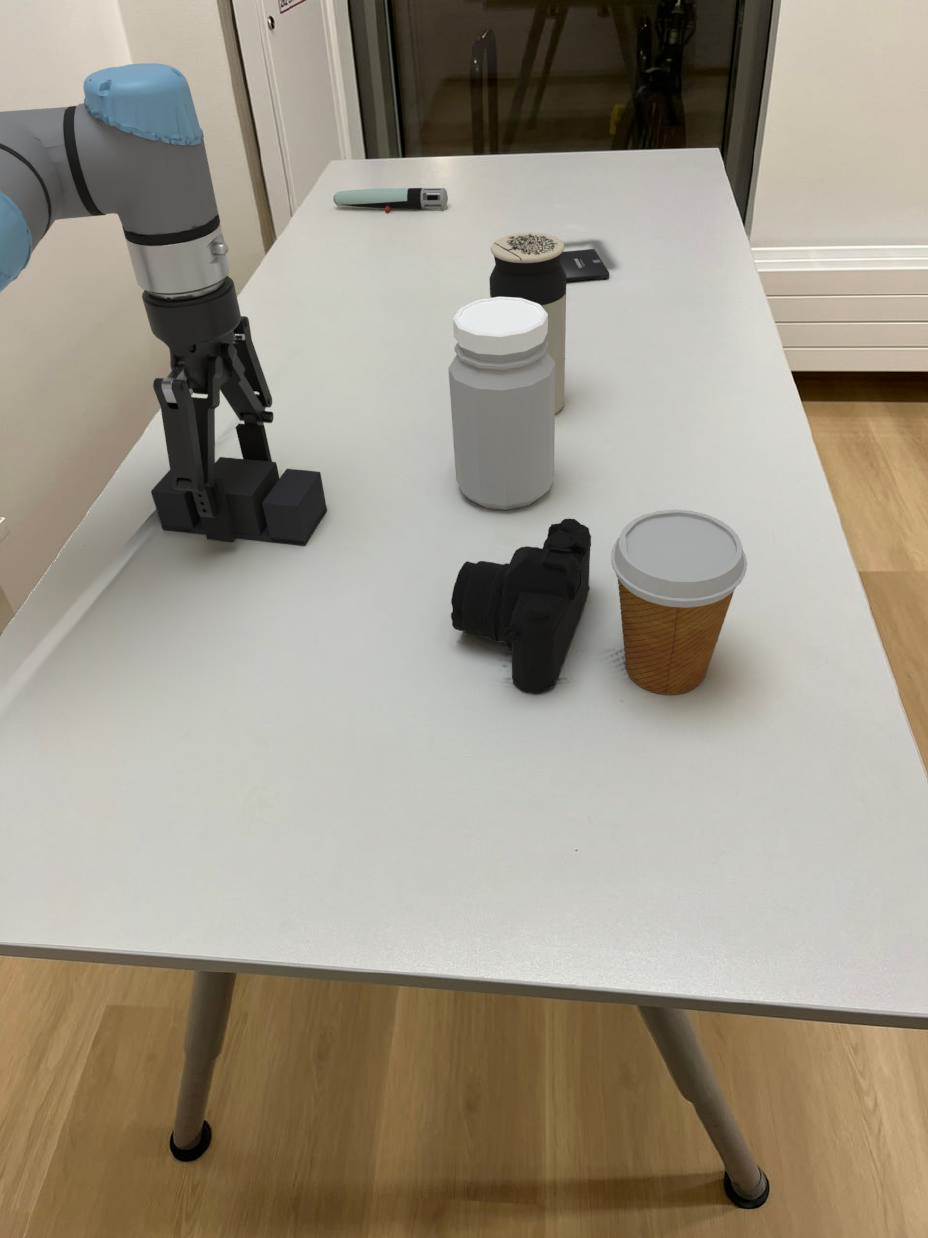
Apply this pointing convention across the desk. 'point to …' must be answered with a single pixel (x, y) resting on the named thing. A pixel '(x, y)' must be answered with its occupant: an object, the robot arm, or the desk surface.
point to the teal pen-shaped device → (393, 198)
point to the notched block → (286, 506)
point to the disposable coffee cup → (674, 595)
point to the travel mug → (535, 287)
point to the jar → (502, 402)
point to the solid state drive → (583, 265)
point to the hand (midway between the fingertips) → (243, 509)
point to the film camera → (529, 602)
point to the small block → (246, 491)
